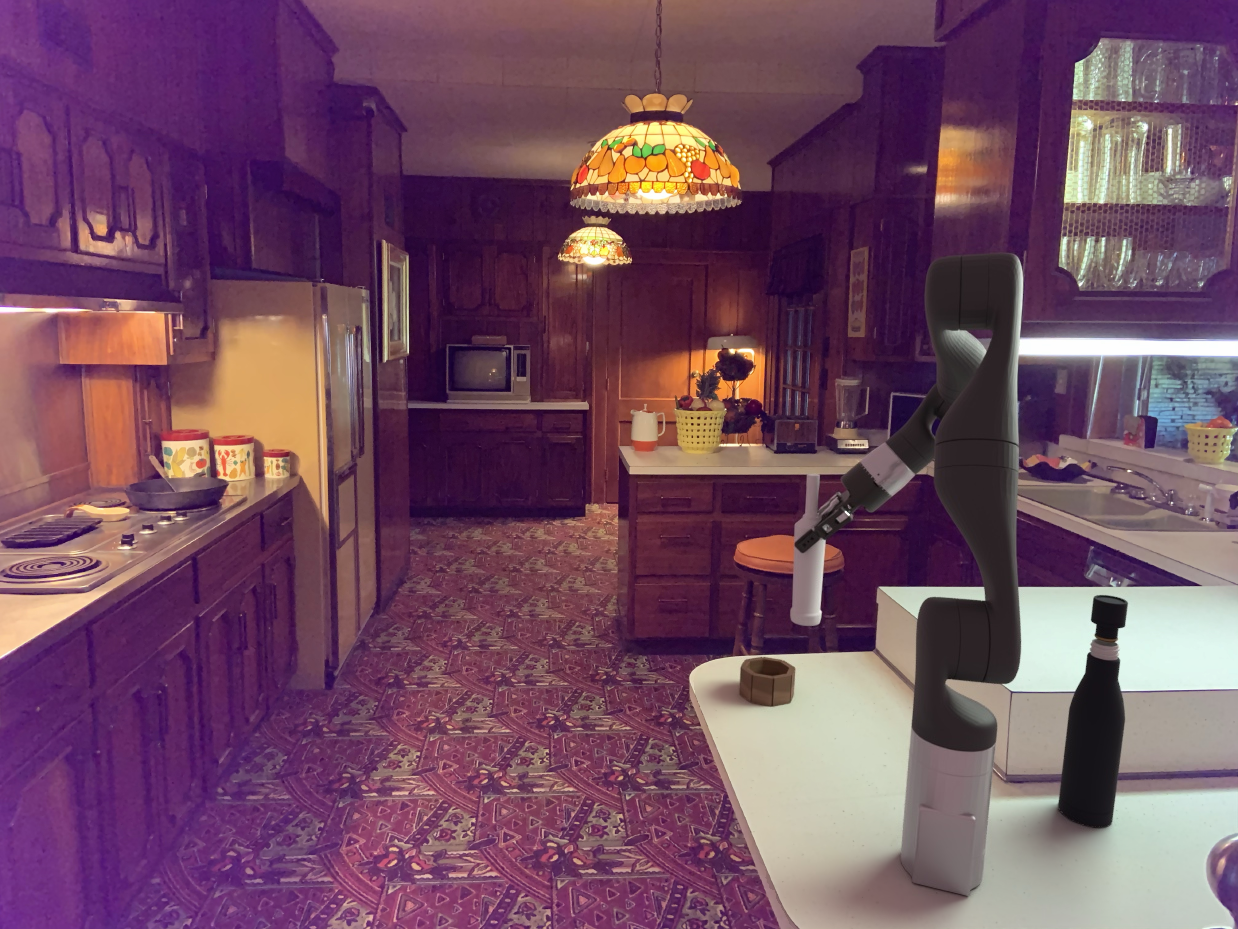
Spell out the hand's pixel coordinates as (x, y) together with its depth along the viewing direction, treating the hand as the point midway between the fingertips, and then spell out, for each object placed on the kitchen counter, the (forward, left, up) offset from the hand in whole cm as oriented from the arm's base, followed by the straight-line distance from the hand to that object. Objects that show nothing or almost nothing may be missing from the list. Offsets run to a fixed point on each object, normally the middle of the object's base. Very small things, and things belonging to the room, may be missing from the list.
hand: (798, 544), depth 139 cm
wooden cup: (+3, +4, -28) cm, 29 cm away
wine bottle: (-17, -43, -29) cm, 54 cm away
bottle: (0, -2, -13) cm, 14 cm away
